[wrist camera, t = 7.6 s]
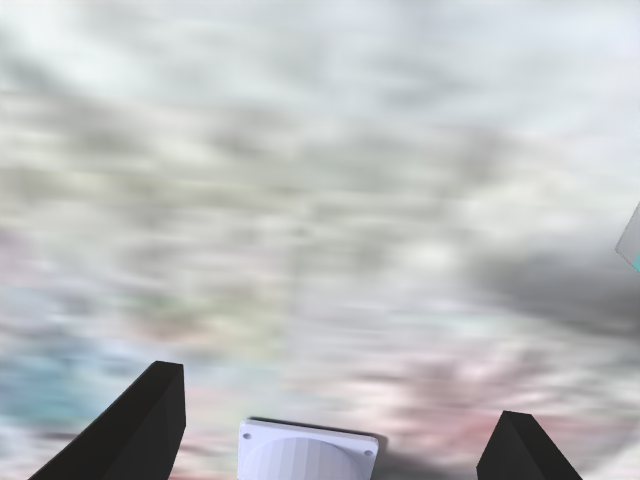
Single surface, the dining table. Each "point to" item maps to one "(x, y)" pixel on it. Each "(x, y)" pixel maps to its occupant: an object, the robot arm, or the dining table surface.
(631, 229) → the base brick
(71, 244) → the dining table surface
